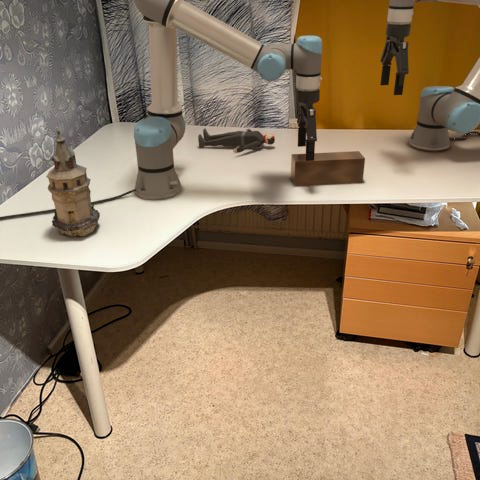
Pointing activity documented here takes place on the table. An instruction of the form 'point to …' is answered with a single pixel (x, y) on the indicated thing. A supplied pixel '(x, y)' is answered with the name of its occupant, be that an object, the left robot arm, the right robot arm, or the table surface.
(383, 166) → the table surface
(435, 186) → the table surface
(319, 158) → the box
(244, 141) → the toy
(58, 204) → the miniature building
